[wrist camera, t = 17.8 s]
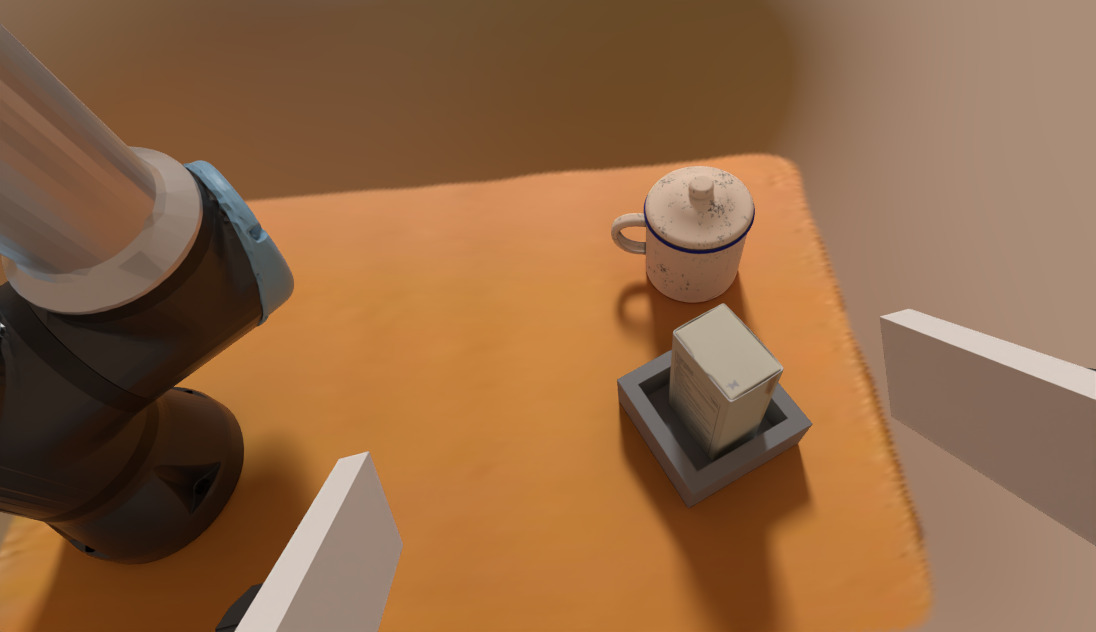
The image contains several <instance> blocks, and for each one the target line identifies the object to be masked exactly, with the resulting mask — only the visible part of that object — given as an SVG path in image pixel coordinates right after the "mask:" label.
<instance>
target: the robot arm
mask: <svg viewBox="0 0 1096 632" xmlns="http://www.w3.org/2000/svg"><path fill="white" fill-rule="evenodd" d="M0 254H1V255H2V263H3V268H4V271H5V274H6V277H7V278H8V280H9V281H7V282H6V283H4V284H3V285H1V286H0V512H3V513H7V514H12V515H16V516H21V517H26V518H30V519H34V520H39V521H43V522H45V523H46V524H47V525H49V526H50V527H51V528H52V529H54V530H55V531H56V532H57V533H59V534H60V535H61V536H62V537H64V538H65V539H67V540H69V541H70V542H71V543H72V544H73V545H74V546H75V547H76V548H78V549H79V550H80V551H82V552H83V553H85V554H87V555H89V556H92V557H94V558H97V559H101V560H106V561H111V562H116V563H122V564H141V563H147V562H151V561H155V560H158V559H161V558H163V557H166V556H168V555H170V554H172V553H174V552H176V551H178V550H179V549H181V548H183V547H184V546H186V545H187V544H188V543H190V542H191V541H193V540H194V539H195V538H196V537H197V536H199V535H200V534H201V533H202V532H203V531H204V530H205V529H206V528H207V527H208V526H209V525H210V524H211V523H212V522H213V520H214V519H215V518H216V517H217V516H218V514H219V513H220V512H221V510H222V509H223V507H224V506H225V504H226V503H227V501H228V499H229V498H230V496H231V494H232V492H233V490H234V488H235V485H236V483H237V480H238V477H239V474H240V470H241V466H242V461H243V437H242V432H241V429H240V426H239V424H238V422H237V420H236V418H235V416H234V415H233V414H232V413H231V411H230V410H229V409H228V408H227V407H225V406H224V405H223V404H221V403H220V402H218V401H216V400H215V399H213V398H211V397H210V396H208V395H206V394H204V393H202V392H199V391H196V390H193V389H188V388H180V387H174V386H175V385H176V384H178V383H179V382H181V381H182V380H183V379H185V378H186V377H187V376H189V375H190V374H192V373H193V372H194V371H196V370H197V369H198V368H200V367H201V366H203V365H204V364H205V363H207V362H208V361H210V360H211V359H212V358H214V357H215V356H216V355H218V354H219V353H221V352H222V351H223V350H225V349H226V348H227V347H229V346H230V345H232V344H233V343H234V342H236V341H237V340H239V339H240V338H241V337H243V336H244V335H245V334H247V333H248V332H250V331H251V330H252V329H254V328H255V327H256V326H260V325H261V324H263V323H264V322H265V321H266V319H267V318H268V316H269V315H270V314H271V313H272V312H274V311H275V310H276V309H277V308H278V307H280V306H281V305H282V304H283V303H284V302H286V301H287V300H288V299H289V297H290V296H291V294H292V292H293V289H294V279H293V275H292V273H291V271H290V268H289V266H288V265H287V263H286V261H285V259H284V258H283V256H282V254H281V253H280V251H279V250H278V248H277V247H276V245H275V244H274V242H273V241H272V239H271V238H270V237H269V235H268V234H267V233H266V232H265V230H263V229H262V228H261V225H260V223H259V222H258V221H257V219H256V217H255V216H254V214H253V213H252V211H251V210H250V209H249V207H248V206H247V205H246V203H245V202H244V201H243V199H242V198H241V197H240V196H239V194H238V193H237V192H236V191H235V190H234V188H233V187H232V186H231V185H230V183H229V182H228V181H227V180H226V179H225V178H224V177H223V176H222V175H221V174H220V172H218V170H217V169H216V168H214V167H213V166H212V165H211V164H210V163H208V162H205V161H195V162H193V163H190V164H187V163H186V164H184V165H181V164H180V163H179V162H177V161H176V160H174V159H173V158H171V157H169V156H168V155H166V154H164V153H161V152H158V151H155V150H151V149H146V148H138V147H128V146H126V145H125V144H124V143H123V142H122V141H121V140H120V139H119V138H118V137H117V136H116V135H115V134H114V133H113V132H112V131H111V130H110V129H109V128H108V127H107V126H106V125H105V124H104V123H103V122H102V121H101V120H100V119H99V118H98V117H96V115H94V114H93V113H92V112H91V111H90V110H89V109H88V108H87V107H86V106H85V105H84V104H83V103H82V102H81V101H80V100H79V99H78V98H77V97H76V96H75V95H74V94H73V93H72V92H71V91H70V90H69V89H68V88H67V87H66V86H65V85H64V84H62V83H61V82H60V81H59V80H58V79H57V78H56V77H55V76H54V75H53V74H52V73H51V72H50V71H49V70H48V69H47V68H46V67H45V66H44V65H43V64H42V63H41V62H40V61H39V60H38V59H37V58H36V57H35V56H33V55H32V54H31V53H30V52H29V51H28V50H27V49H26V48H25V47H24V46H23V45H22V44H21V43H20V42H19V41H18V40H17V39H16V38H15V37H14V36H13V35H12V34H11V33H9V31H8V30H6V29H5V27H4V26H3V25H1V24H0ZM880 324H881V333H882V340H883V349H884V358H885V365H886V374H887V383H888V391H889V400H890V408H891V416H892V417H893V418H895V419H897V420H898V421H900V422H901V423H903V424H904V425H906V426H908V427H909V428H911V429H912V430H914V431H916V432H917V433H919V434H920V435H922V436H924V437H925V438H927V439H928V440H930V441H932V442H933V443H934V444H936V445H938V446H939V447H941V448H942V449H944V450H945V451H947V452H949V453H950V454H952V455H953V456H955V457H956V458H958V459H960V460H961V461H963V462H965V463H966V464H968V465H969V466H971V467H972V468H974V469H975V470H977V471H979V472H980V473H982V474H983V475H985V476H986V477H988V478H990V479H991V480H993V481H994V482H996V483H998V484H999V485H1001V486H1002V487H1004V488H1005V489H1007V490H1008V491H1010V492H1012V493H1013V494H1015V495H1016V496H1018V497H1019V498H1021V499H1023V500H1024V501H1026V502H1027V503H1029V504H1031V505H1032V506H1034V507H1035V508H1037V509H1038V510H1040V511H1042V512H1043V513H1045V514H1046V515H1048V516H1050V517H1051V518H1053V519H1054V520H1056V521H1058V522H1059V523H1060V524H1062V525H1064V526H1065V527H1067V528H1069V529H1070V530H1072V531H1073V532H1075V533H1076V534H1078V535H1079V536H1081V537H1083V538H1084V539H1086V540H1087V541H1089V542H1090V543H1092V544H1094V545H1095V546H1096V369H1091V368H1085V367H1081V366H1078V365H1075V364H1072V363H1069V362H1066V361H1063V360H1060V359H1057V358H1054V357H1051V356H1048V355H1045V354H1042V353H1040V352H1037V351H1034V350H1030V349H1028V348H1025V347H1022V346H1019V345H1016V344H1012V343H1010V342H1007V341H1004V340H1001V339H997V338H994V337H992V336H989V335H986V334H983V333H980V332H977V331H974V330H971V329H968V328H965V327H962V326H959V325H956V324H953V323H950V322H947V321H944V320H941V319H938V318H935V317H932V316H929V315H926V314H923V313H920V312H917V311H914V310H912V309H907V310H903V311H899V312H896V313H892V314H888V315H884V316H880ZM402 547H403V543H402V540H401V538H400V535H399V532H398V529H397V527H396V524H395V521H394V518H393V516H392V513H391V510H390V507H389V505H388V502H387V499H386V497H385V494H384V491H383V488H382V486H381V483H380V480H379V477H378V475H377V472H376V469H375V466H374V464H373V461H372V458H371V455H370V453H369V451H368V452H364V453H361V454H357V455H353V456H349V457H345V458H342V459H339V460H338V462H337V464H336V465H335V467H334V469H333V470H332V472H331V474H330V475H329V477H328V478H327V480H326V482H325V483H324V485H323V487H322V488H321V490H320V492H319V493H318V495H317V497H316V498H315V500H314V502H313V503H312V505H311V506H310V508H309V510H308V511H307V513H306V515H305V516H304V518H303V520H302V521H301V523H300V525H299V526H298V528H297V530H296V531H295V533H294V534H293V536H292V538H291V539H290V541H289V543H288V544H287V546H286V548H285V549H284V551H283V553H282V554H281V556H280V558H279V559H278V561H277V562H276V564H275V566H274V567H273V569H272V571H271V572H270V574H269V576H268V577H267V579H266V581H265V582H264V583H262V584H258V585H254V586H251V587H250V588H249V589H248V590H247V591H246V592H245V593H244V594H243V595H242V596H241V597H240V598H239V599H238V600H237V601H236V602H235V603H234V604H233V605H232V606H231V607H230V608H229V609H228V611H227V612H226V614H225V615H224V617H223V618H222V620H221V621H220V623H219V624H218V626H217V627H216V629H215V632H378V629H379V625H380V622H381V618H382V615H383V612H384V608H385V605H386V601H387V598H388V595H389V591H390V588H391V584H392V581H393V578H394V574H395V571H396V567H397V564H398V560H399V557H400V554H401V550H402Z"/></svg>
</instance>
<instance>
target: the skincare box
mask: <svg viewBox="0 0 1096 632" xmlns="http://www.w3.org/2000/svg"><path fill="white" fill-rule="evenodd" d="M782 372H783V366H782V365H781V364H780V363H779V362H778V360H777V359H776V358H775V357H774V356H773V354H772V353H771V352H770V351H769V350H768V349H767V348H766V346H765V345H764V344H763V343H762V342H761V341H760V340H759V339H758V338H757V337H756V336H755V334H754V333H753V332H752V331H751V330H750V329H749V328H748V327H747V326H746V325H745V324H744V323H743V322H742V321H741V320H740V319H739V318H738V317H737V316H736V315H735V314H734V313H733V312H732V311H731V310H730V309H729V308H728V307H727V306H726V304H724V303H722V304H720V305H719V306H717V307H715V308H713V309H711V310H709V311H707V312H705V313H703V314H701V315H700V316H698V317H696V318H694V319H693V320H691V321H689V322H687V323H685V324H684V325H682V326H680V327H678V328H677V329H675V330H674V331H673V341H672V356H671V371H670V388H669V405H670V406H671V408H672V409H673V411H674V412H675V414H676V415H677V416H678V418H679V419H680V420H681V422H682V423H683V425H684V426H685V427H686V429H687V430H688V431H689V432H690V434H691V435H692V436H693V438H694V439H695V440H696V442H697V443H698V444H699V445H700V447H701V448H702V449H703V450H704V452H705V453H706V454H707V455H708V456H709V458H710V459H711V460H712V461H716V460H718V459H719V458H721V457H723V456H724V455H726V454H728V453H729V452H731V451H733V450H734V449H736V448H738V447H739V446H741V445H742V444H744V443H745V442H747V441H748V440H750V439H751V438H753V437H754V436H755V434H756V432H757V430H758V428H759V425H760V423H761V421H762V418H763V416H764V414H765V411H766V409H767V407H768V405H769V402H770V400H771V398H772V395H773V393H774V391H775V388H776V386H777V383H778V381H779V379H780V377H781V374H782Z"/></svg>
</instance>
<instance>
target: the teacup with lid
mask: <svg viewBox="0 0 1096 632" xmlns="http://www.w3.org/2000/svg"><path fill="white" fill-rule="evenodd" d="M754 215H755V208H754V203H753V199H752V197H751V194H750V192H749V191H748V189H747V188H746V186H745V185H744V184H743V183H742V182H741V181H740V180H739V179H738V178H736V177H735V176H733V175H732V174H730V173H728V172H726V171H723V170H721V169H717V168H713V167H707V166H692V167H685V168H681V169H678V170H675V171H673V172H671V173H669V174H667V175H665V176H664V177H662V178H661V179H660V180H659V181H658V182H657V183H656V184H655V185H654V186H653V187H652V188H651V190H650V192H649V193H648V195H647V197H646V200H645V204H644V214H642V213H631V214H625V215H622V216H620V217H618V218H617V219H616V220H615V221H614V222H613V224H612V228H611V236H612V239H613V241H614V242H615V244H616V245H617V246H618V247H619V248H621V249H622V250H624V251H626V252H629V253H634V254H643V255H646V271H647V275H648V277H649V279H650V281H651V283H652V284H653V285H654V286H655V288H656V289H657V290H659V291H660V292H661V293H662V294H664V295H666V296H667V297H669V298H672V299H674V300H677V301H681V302H689V303H696V302H704V301H708V300H711V299H713V298H716V297H718V296H719V295H721V294H722V293H724V292H725V291H726V290H727V289H728V288H729V287H730V286H731V284H732V283H733V281H734V280H735V277H736V274H737V271H738V267H739V263H740V259H741V255H742V251H743V247H744V243H745V239H746V235H747V233H748V231H749V230H750V228H751V226H752V224H753V220H754ZM632 226H639V227H646V242H637V241H632V240H629V239H627V238H626V237H624V236H623V235H622V234H621V232H620V230H622V229H623V228H626V227H632Z"/></svg>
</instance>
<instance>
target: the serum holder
mask: <svg viewBox="0 0 1096 632" xmlns="http://www.w3.org/2000/svg"><path fill="white" fill-rule="evenodd" d="M671 356H672V350H670V351H668V352H666V353H664V354H663V355H661V356H659V357H657V358H655V359H654V360H652V361H650V362H648V363H646V364H644V365H643V366H641V367H639V368H637V369H635V370H634V371H632V372H630V373H628V374H626V375H624V376H623V377H621V378H619V379H617V385H618V397H619V402H620V403H621V405H622V406H623V408H624V410H625V411H626V413H627V414H628V416H629V417H630V419H631V420H632V422H633V423H634V425H635V427H636V428H637V430H638V431H639V433H640V434H641V436H642V437H643V439H644V440H645V442H646V444H647V445H648V447H649V448H650V450H651V451H652V453H653V454H654V456H655V458H656V459H657V461H658V462H659V464H660V465H661V467H662V468H663V470H664V471H665V473H666V475H667V476H668V478H669V479H670V481H671V482H672V484H673V485H674V487H675V488H676V490H677V492H678V493H679V495H680V496H681V498H682V499H683V501H684V502H685V504H686V505H687V507H688V508H690V507H692V506H693V505H695V504H697V503H698V502H700V501H702V500H703V499H705V498H707V497H708V496H710V495H712V494H713V493H715V492H717V491H719V490H720V489H722V488H724V487H725V486H727V485H729V484H730V483H732V482H734V481H735V480H737V479H739V478H740V477H742V476H744V475H745V474H747V473H749V472H750V471H752V470H754V469H755V468H757V467H759V466H760V465H762V464H764V463H765V462H767V461H769V460H771V459H772V458H774V457H776V456H777V455H779V454H781V453H782V452H784V451H786V450H787V449H789V448H791V447H792V446H794V445H796V444H797V443H799V441H800V440H801V439H802V437H803V436H804V435H805V433H806V432H807V431H808V429H809V428H810V427H811V425H812V423H811V421H810V420H809V419H808V418H807V417H806V415H805V414H804V413H803V412H802V411H801V409H800V408H799V407H798V406H797V405H796V403H795V402H794V401H793V400H792V399H791V397H790V396H789V395H788V394H787V393H786V391H785V390H784V389H783V388H782V387H781V385H780V384H779V383H777V386H776V388H775V391H774V393H773V395H772V398H771V400H770V402H769V405H768V407H767V409H766V411H765V414H764V416H763V418H762V421H761V423H760V425H759V428H758V430H757V432H756V434H755V436H754V437H753V438H751V439H750V440H748V441H747V442H745V443H744V444H742V445H741V446H739V447H738V448H736V449H734V450H733V451H731V452H729V453H728V454H726V455H724V456H723V457H721V458H719V459H718V460H716V461H712V460H711V459H710V458H709V456H708V455H707V454H706V453H705V452H704V450H703V449H702V448H701V447H700V445H699V444H698V443H697V442H696V440H695V439H694V438H693V436H692V435H691V434H690V432H689V431H688V430H687V429H686V427H685V426H684V425H683V423H682V422H681V420H680V419H679V418H678V416H677V415H676V414H675V412H674V411H673V409H672V408H671V406H670V405H669V388H670V371H671Z"/></svg>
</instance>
